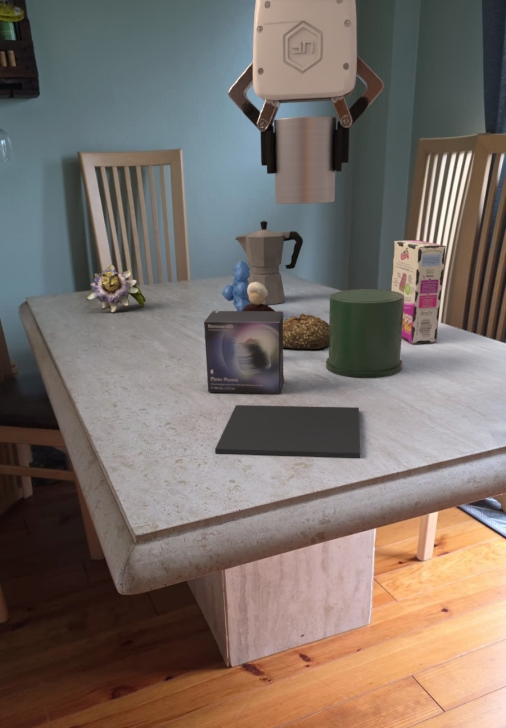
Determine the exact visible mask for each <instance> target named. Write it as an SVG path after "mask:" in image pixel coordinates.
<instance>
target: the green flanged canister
mask: <svg viewBox="0 0 506 728" xmlns="http://www.w3.org/2000/svg"><path fill="white" fill-rule="evenodd" d="M403 308H404V295H403V294H401V293H399V292H395V291H391V290H388V289H378V288H377V289H376V288H358V289H357V288H356V289H347V290H346V289H345V290H340V291H336V292H333V293H331V294H330V295H329V321H328V322H329V323H328V324H329V345H328V358H327V359H326V361H325V368H326V369H327V370H328V371H329V372H331V373H333V374H335V375H339V376H344V377H349V378H360V379H361V378H362V379H372V378H375V379H376V378H381V377H382V378H383V377H388V376H393V375H396V374H397V373H399V372H401V371H402V369H403V360H402V359H401V353H402V339H403V338H402V323H403Z"/></svg>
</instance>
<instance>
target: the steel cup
mask: <svg viewBox="0 0 506 728" xmlns="http://www.w3.org/2000/svg"><path fill="white" fill-rule="evenodd" d="M273 126H274V145H275V173H274V193H275V194H274V200H275V201H274V202H275V204H280V205H306V204H308V205H309V204H323V203H333V202H335V199H336V198H335V197H336V196H335V194H336V193H335V192H336V170H334V163H335V130H337V117H336V116H328V115H327V116H325V115H321V116H319V115H318V116H316V115H315V116H293V117H283V118H282V117H281V118H275V120H274V122H273Z"/></svg>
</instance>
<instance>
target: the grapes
mask: <svg viewBox="0 0 506 728" xmlns="http://www.w3.org/2000/svg"><path fill="white" fill-rule="evenodd" d="M250 270H251V267H250V266H249V265H248V263H247V262H245V261H243V260H239V261H237V263H236V264H235V266H234V267H233V271H234V273H233V275H232V276H233V277H234V278H233V280H232V281H231V284H228V285H226V286H225V287H224V288H223V290H222V291H221V295H222V296H223V298H224V299H225V300H226V301H228V302H232V301H233V302H232V304H233V306H234V308H235V309H236V311H242V310H243V308H244V307H245V306H246V305H248V304H250V303H251V302H250V300H249V296H248V293H247V289H248V286H249V283H248V282H249V276H250V274H251V272H250Z"/></svg>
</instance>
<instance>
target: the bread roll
mask: <svg viewBox="0 0 506 728" xmlns="http://www.w3.org/2000/svg"><path fill="white" fill-rule="evenodd" d="M326 347H329V323H328V322H327V321H326V320H324V319H322V318H320V317H318V316H315V315H311V314H305V313H300V314H299V316H298V317H297V316H295V315H293V316H292V317H289V318H286V319H284V320H283V349H297V350H318V349H319V350H320V349H324V348H326Z"/></svg>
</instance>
